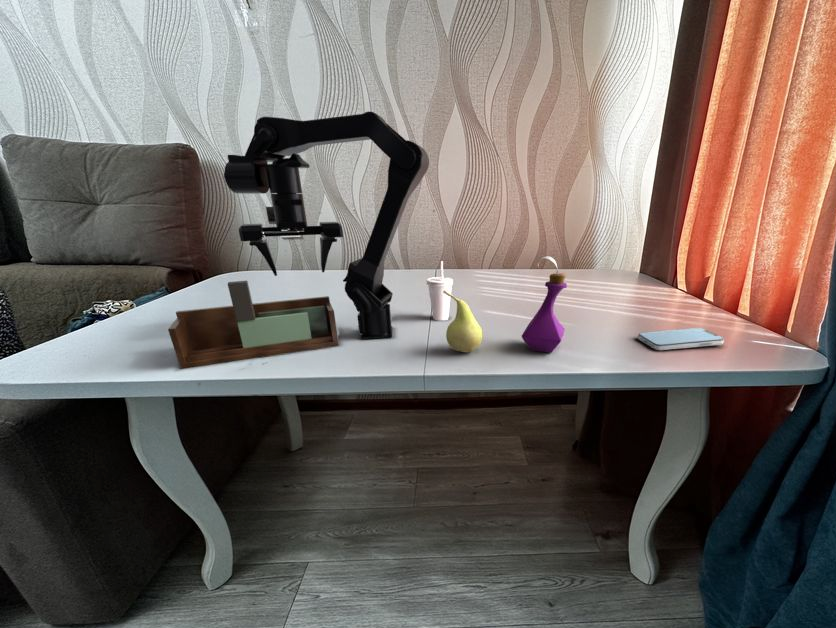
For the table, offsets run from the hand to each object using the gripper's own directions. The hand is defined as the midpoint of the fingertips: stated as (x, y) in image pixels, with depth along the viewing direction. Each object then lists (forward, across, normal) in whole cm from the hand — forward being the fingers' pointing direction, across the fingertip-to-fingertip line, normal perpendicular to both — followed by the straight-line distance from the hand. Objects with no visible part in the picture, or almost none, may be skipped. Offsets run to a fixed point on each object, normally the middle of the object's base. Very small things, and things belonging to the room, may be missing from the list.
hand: (300, 273), depth 80 cm
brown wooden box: (+13, +9, +8) cm, 17 cm away
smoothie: (+13, -30, +3) cm, 33 cm away
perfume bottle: (+13, -42, +30) cm, 53 cm away
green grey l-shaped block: (+12, +6, +10) cm, 17 cm away
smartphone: (+13, -69, +40) cm, 81 cm away
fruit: (+13, -26, +25) cm, 39 cm away
